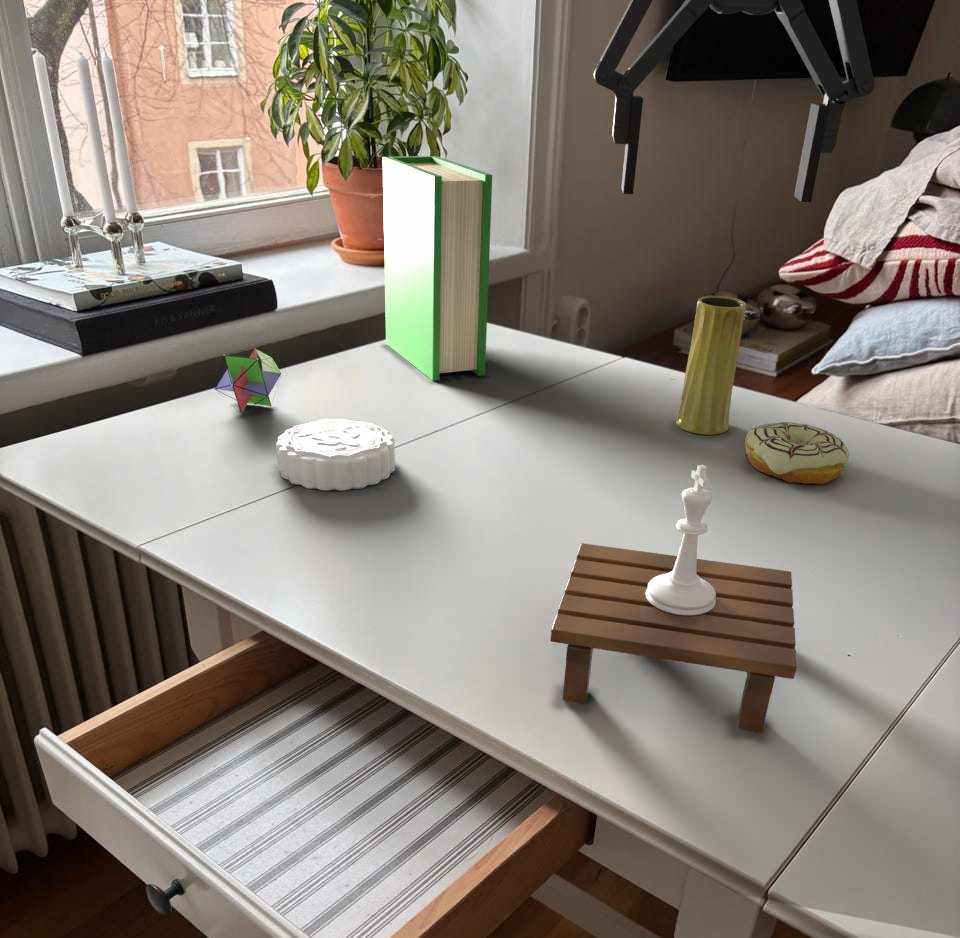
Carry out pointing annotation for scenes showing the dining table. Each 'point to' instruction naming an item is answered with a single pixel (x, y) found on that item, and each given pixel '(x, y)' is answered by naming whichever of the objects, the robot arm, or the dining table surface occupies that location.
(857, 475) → the dining table surface
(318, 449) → the mooncake
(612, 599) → the bench
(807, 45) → the robot arm
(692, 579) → the chess piece
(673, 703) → the dining table surface
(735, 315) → the vase
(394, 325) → the hardback book
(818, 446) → the decorated donut
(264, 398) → the geometric puzzle
